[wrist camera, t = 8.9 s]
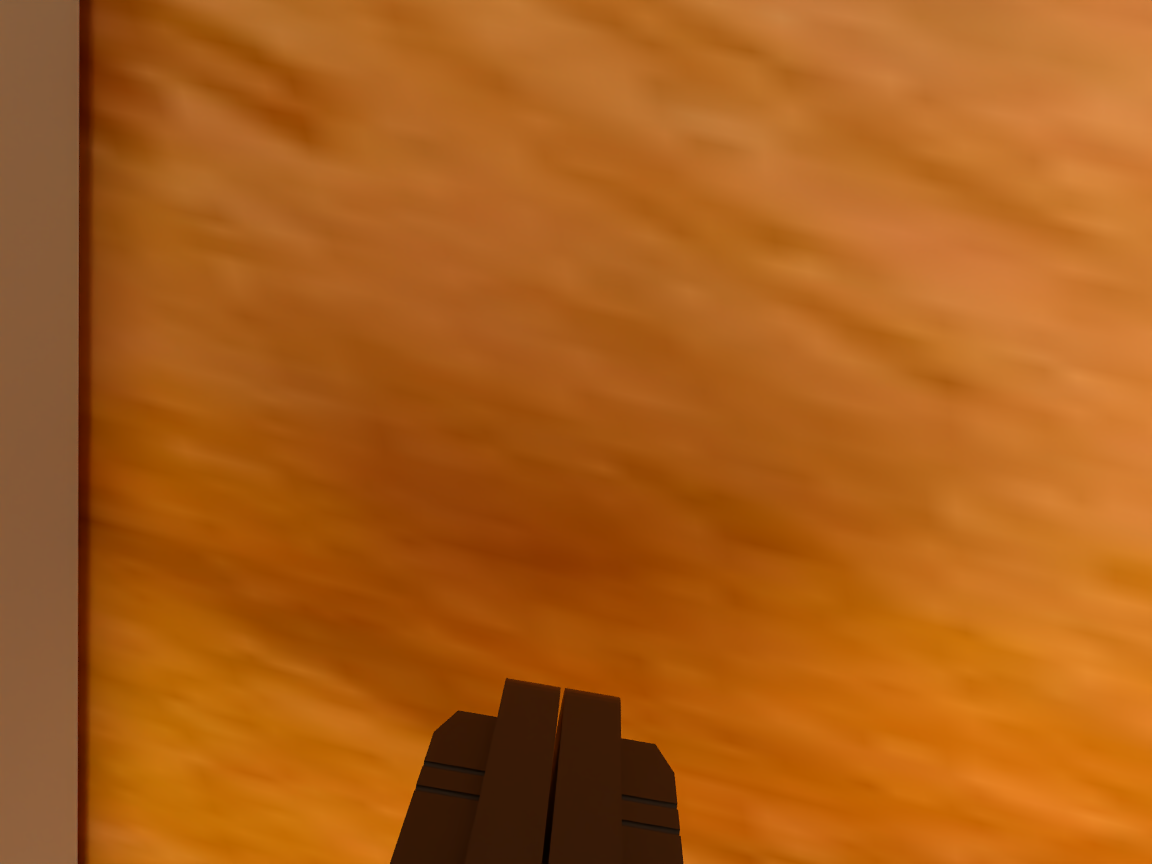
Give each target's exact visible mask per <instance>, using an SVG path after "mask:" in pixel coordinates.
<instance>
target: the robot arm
mask: <svg viewBox="0 0 1152 864" xmlns="http://www.w3.org/2000/svg"><path fill="white" fill-rule="evenodd" d="M559 699H560V687H555V686H549V685H543V684H537V683H532V682H526V681H520V680H514V679H508V678H506V681H505V685H504V690H503V694H502V699H501V703H500V708H499V712H498V717H493V716H487V715H481V714H476V713H470V712H464V711H457V712H456V713H455V714H454V715H453V716H452V717H450V718H449V719H448V720H447V721H446V722H445V723H444V724H442V725H441V726H440V727H439V728H438V729H437V730H436V731H434V733H433V736H432V739H431V742H430V745H429V748H428V751H427V754H426V757H425V760H424V765H423V766H422V769H421V772H420V775H419V778H418V781H417V784H416V789H415V790H414V793H413V796H412V799H411V802H410V805H409V808H408V811H407V814H406V817H405V820H404V823H403V826H402V829H401V832H400V835H399V838H398V841H397V844H396V847H395V850H394V853H393V856H392V859H391V862H390V864H683V855H682V845H681V836H679V831H680V825H679V816H678V810H677V796H676V786H675V776H674V772H673V771H672V769H671V767H670V766H669V764H668V763H667V761H666V760H665V758H664V757H663V755H662V754H661V752H660V751H659V749H658V748H657V746H656V745H655V744H651V743H645V742H640V741H634V740H628V739H622V738H621V703H620V698H619V697H614V696H608V695H602V694H597V693H591V692H585V691H579V690H573V689H568V688H565V690H564V695H563V699H562V704H561V710H560V715H559V721H558V726H557V717H558V708H559ZM556 727H557V731H556ZM555 736H556V737H555Z"/></svg>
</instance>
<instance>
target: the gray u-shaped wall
mask: <svg viewBox="0 0 1152 864" xmlns="http://www.w3.org/2000/svg"><path fill="white" fill-rule="evenodd" d="M78 396H79V0H0V864H77V857H78Z"/></svg>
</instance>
